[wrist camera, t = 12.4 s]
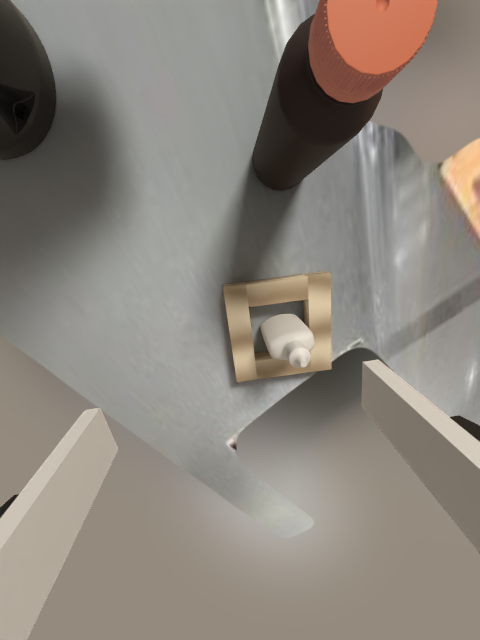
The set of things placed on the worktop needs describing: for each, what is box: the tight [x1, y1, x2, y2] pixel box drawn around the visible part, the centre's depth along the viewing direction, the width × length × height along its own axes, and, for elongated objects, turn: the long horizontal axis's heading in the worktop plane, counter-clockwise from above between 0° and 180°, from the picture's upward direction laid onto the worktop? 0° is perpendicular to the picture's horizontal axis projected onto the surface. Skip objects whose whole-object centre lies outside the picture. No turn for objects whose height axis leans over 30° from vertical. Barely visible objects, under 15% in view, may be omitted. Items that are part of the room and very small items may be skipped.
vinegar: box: [253, 0, 438, 191], centre depth 20 cm, size 7×7×20 cm
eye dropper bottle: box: [260, 314, 315, 368], centre depth 30 cm, size 4×6×12 cm
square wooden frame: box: [223, 271, 331, 382], centre depth 34 cm, size 14×14×2 cm
